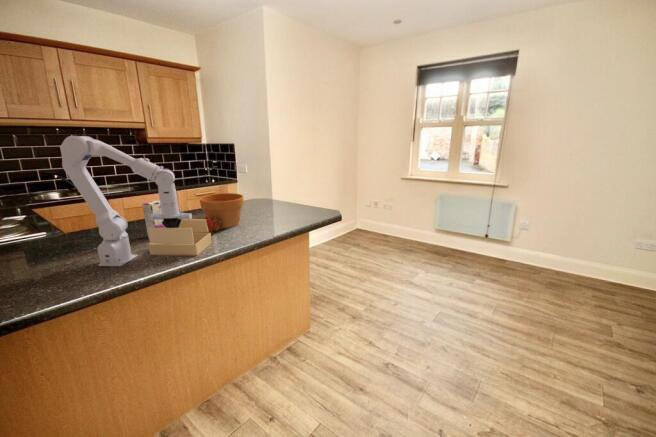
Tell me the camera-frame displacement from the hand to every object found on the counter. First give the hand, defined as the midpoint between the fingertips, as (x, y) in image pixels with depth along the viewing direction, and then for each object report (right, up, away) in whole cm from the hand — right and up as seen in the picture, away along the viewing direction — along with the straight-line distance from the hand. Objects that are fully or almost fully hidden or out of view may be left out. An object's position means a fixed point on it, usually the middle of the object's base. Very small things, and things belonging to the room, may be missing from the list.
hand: (174, 237), depth 110 cm
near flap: (0, +1, -2) cm, 2 cm away
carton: (0, -5, +7) cm, 9 cm away
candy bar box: (-17, -1, +21) cm, 27 cm away
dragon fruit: (+3, 0, +27) cm, 27 cm away
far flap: (0, +4, +10) cm, 11 cm away
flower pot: (+5, +4, +40) cm, 40 cm away
